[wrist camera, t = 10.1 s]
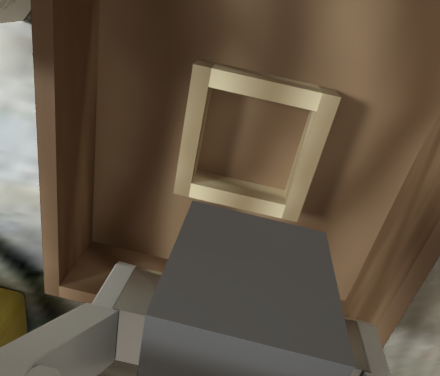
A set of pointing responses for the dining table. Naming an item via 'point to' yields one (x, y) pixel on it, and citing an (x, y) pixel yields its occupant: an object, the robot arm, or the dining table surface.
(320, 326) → the plain grey cube
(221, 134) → the walled box
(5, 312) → the flower pot
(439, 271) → the dining table surface
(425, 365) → the dining table surface
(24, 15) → the ink cartridge box
